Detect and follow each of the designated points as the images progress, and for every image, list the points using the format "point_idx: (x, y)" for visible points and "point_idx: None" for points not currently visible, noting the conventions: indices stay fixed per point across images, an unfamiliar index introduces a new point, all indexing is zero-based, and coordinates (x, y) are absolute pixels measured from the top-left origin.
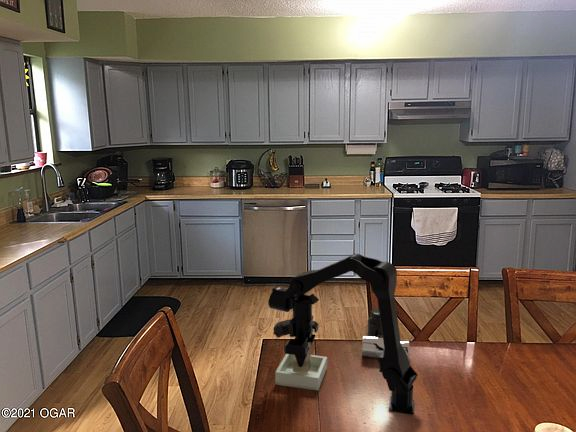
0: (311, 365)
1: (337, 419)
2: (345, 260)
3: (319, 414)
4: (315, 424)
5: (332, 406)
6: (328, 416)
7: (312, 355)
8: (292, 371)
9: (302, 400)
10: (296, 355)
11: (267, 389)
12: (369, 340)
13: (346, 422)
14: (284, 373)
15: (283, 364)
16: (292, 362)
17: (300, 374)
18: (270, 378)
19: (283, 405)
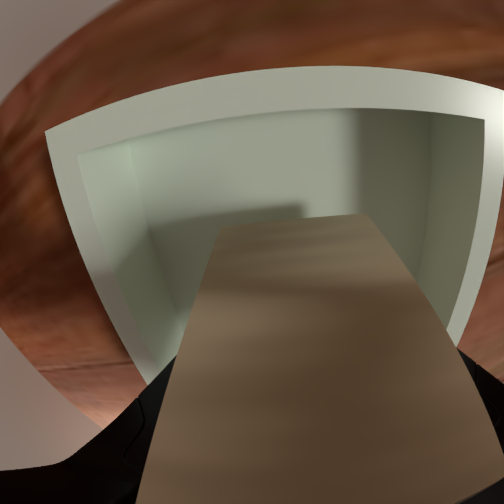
0: (418, 280)
1: (89, 402)
2: None
3: (68, 369)
4: (34, 361)
5: (126, 396)
6: (80, 387)
7: (462, 324)
8: (307, 173)
9: (79, 313)
10: (117, 440)
11: (49, 107)
12: None
13: (96, 415)
14: (69, 219)
15: (227, 117)
16: (435, 137)
17: (133, 338)
18: (167, 38)
19: (13, 252)
